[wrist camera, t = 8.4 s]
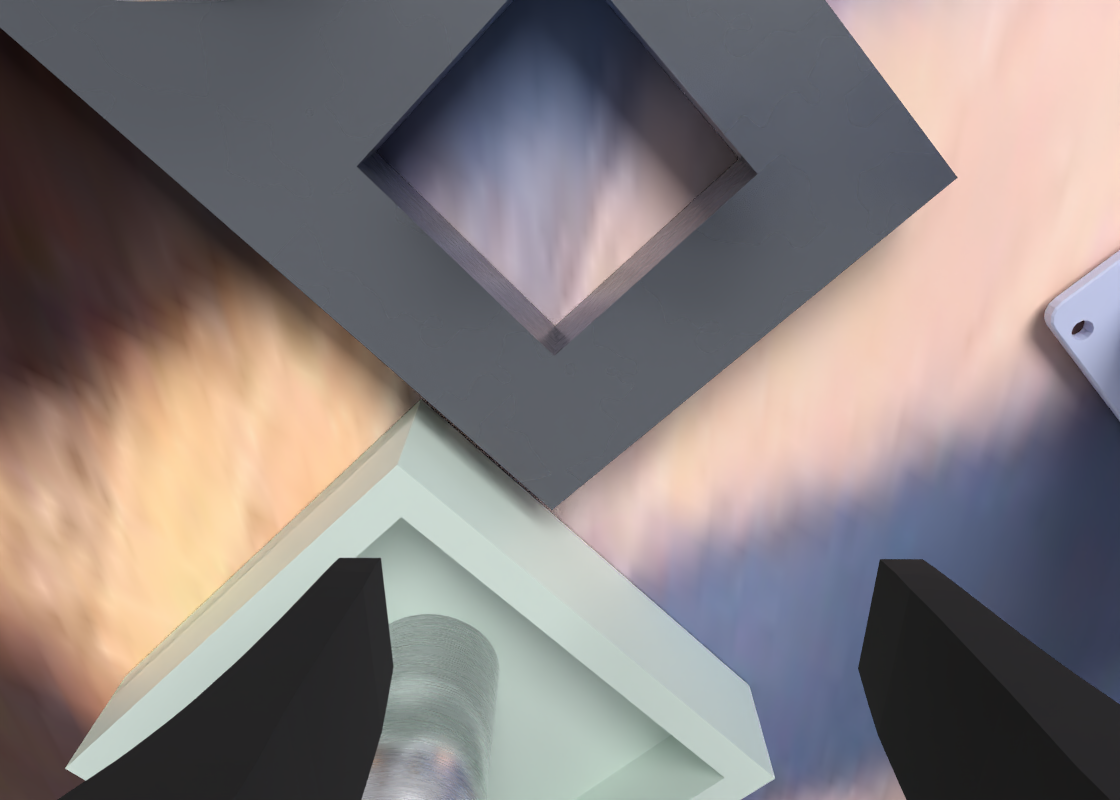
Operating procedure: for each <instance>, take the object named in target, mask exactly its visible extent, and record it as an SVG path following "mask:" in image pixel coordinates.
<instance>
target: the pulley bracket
mask: <svg viewBox="0 0 1120 800" xmlns="http://www.w3.org/2000/svg"><path fill="white" fill-rule="evenodd" d="M513 1H514V0H0V28H1V29H3V30H4V31H5V32H6V33H7V34H8V35H9V36H11V37H12V38H13V39H14V40H15V41H16V42H17V43H19V44H20V45H21V46H22V47H23V48H24V49H25V50H27V51H28V52H29V53H30V54H31V55H32V56H33V57H35V58H36V59H37V60H38V61H39V62H40V63H41V64H43V65H44V66H45V67H46V68H47V69H48V70H49V71H51V72H52V73H53V74H54V75H55V76H56V77H57V78H59V79H60V80H61V81H62V82H63V83H64V84H65V85H67V86H68V87H69V88H70V89H71V90H72V91H73V92H75V93H76V94H77V95H78V96H79V97H80V98H81V99H83V100H84V101H85V102H86V103H87V104H88V105H89V106H91V107H92V108H93V109H94V110H95V111H96V112H97V113H99V114H100V115H101V116H102V117H103V118H104V119H105V120H107V121H108V122H109V123H110V124H111V125H112V126H113V127H115V128H116V129H117V130H118V131H119V132H120V133H121V134H123V135H124V136H125V137H126V138H127V139H128V140H129V141H131V142H132V143H133V144H134V145H135V146H136V147H137V148H139V149H140V150H141V151H142V152H143V153H144V154H145V155H147V156H148V157H149V158H150V159H151V160H152V161H154V162H155V163H156V164H157V165H158V166H159V167H160V168H162V169H163V170H164V171H165V172H166V173H167V174H168V175H170V176H171V177H172V178H173V179H174V180H175V181H176V182H178V183H179V184H180V185H181V186H182V187H183V188H184V189H186V190H187V191H188V192H189V193H190V194H191V195H192V196H194V197H195V198H196V199H197V200H198V201H199V202H200V203H202V204H203V205H204V206H205V207H206V208H207V209H208V210H210V211H211V212H212V213H213V214H214V215H215V216H216V217H218V218H219V219H220V220H221V221H222V222H223V223H224V224H226V225H227V226H228V227H229V228H230V229H231V230H232V231H234V232H235V233H236V234H237V235H238V236H239V237H240V238H242V239H243V240H244V241H245V242H246V243H247V244H248V245H250V246H251V247H252V248H253V249H254V250H255V251H256V252H258V253H259V254H260V255H261V256H262V257H263V258H264V259H266V260H267V261H268V262H269V263H270V264H271V265H272V266H274V267H275V268H276V269H277V270H278V271H279V272H280V273H282V274H283V275H284V276H285V277H286V278H287V279H288V280H290V281H291V282H292V283H293V284H294V285H295V286H296V287H298V288H299V289H300V290H301V291H302V292H303V293H304V294H306V295H307V296H308V297H309V298H310V299H311V300H312V301H314V302H315V303H316V304H317V305H318V306H319V307H320V308H322V309H323V310H324V311H325V312H326V313H327V314H328V315H330V316H331V317H332V318H333V319H334V320H335V321H336V322H338V323H339V324H340V325H341V326H342V327H343V328H344V329H346V330H347V331H348V332H349V333H350V334H351V335H352V336H354V337H355V338H356V339H357V340H358V341H359V342H360V343H362V344H363V345H364V346H365V347H366V348H367V349H368V350H370V351H371V352H372V353H373V354H374V355H375V356H376V357H378V358H379V359H380V360H381V361H382V362H383V363H384V364H386V365H387V366H388V367H389V368H390V369H391V370H392V371H394V372H395V373H396V374H397V375H398V376H399V377H400V378H402V379H403V380H404V381H405V382H406V383H407V384H408V385H410V386H411V387H412V388H413V389H414V390H415V391H416V392H418V393H419V394H420V395H421V396H422V397H423V398H424V399H426V400H427V401H428V402H429V403H430V404H431V405H432V406H434V407H435V408H436V409H437V410H438V411H439V412H440V413H442V414H443V415H444V416H445V417H446V418H447V419H448V420H450V421H451V422H452V423H453V424H454V425H455V426H456V427H458V428H459V429H460V430H461V431H462V432H463V433H464V434H466V435H467V436H468V437H469V438H470V439H471V440H472V441H474V442H475V443H476V444H477V445H478V446H479V447H480V448H482V449H483V450H484V451H485V452H486V453H487V454H488V455H490V456H491V457H492V458H493V459H494V460H495V461H496V462H498V463H499V464H500V465H501V466H502V467H503V468H504V469H506V470H507V471H508V472H509V473H510V474H511V475H512V476H514V477H515V478H516V479H517V480H518V481H519V482H520V483H522V484H523V485H524V486H525V487H526V488H527V489H529V490H530V491H531V492H532V493H533V494H534V495H535V496H537V497H538V498H539V499H540V500H541V501H542V502H543V503H545V504H546V505H547V506H548V507H549V508H550V509H551V510H553V509H554V508H555V507H556V506H557V505H559V504H560V503H561V502H562V501H564V500H565V499H566V498H567V497H568V496H570V495H571V494H572V493H573V492H575V491H576V490H577V489H578V488H579V487H581V486H582V485H583V484H584V483H585V482H587V481H588V480H589V479H590V478H592V477H593V476H594V475H595V474H596V473H598V472H599V471H600V470H601V469H603V468H604V467H605V466H606V465H607V464H609V463H610V462H611V461H612V460H614V459H615V458H616V457H617V456H618V455H620V454H621V453H622V452H623V451H625V450H626V449H627V448H628V447H629V446H631V445H632V444H633V443H634V442H636V441H637V440H638V439H639V438H640V437H642V436H643V435H644V434H645V433H646V432H648V431H649V430H650V429H651V428H653V427H654V426H655V425H656V424H657V423H659V422H660V421H661V420H662V419H664V418H665V417H666V416H667V415H668V414H670V413H671V412H672V411H673V410H675V409H676V408H677V407H678V406H679V405H681V404H682V403H683V402H684V401H686V400H687V399H688V398H689V397H690V396H692V395H693V394H694V393H695V392H696V391H698V390H699V389H700V388H701V387H703V386H704V385H705V384H706V383H707V382H709V381H710V380H711V379H712V378H714V377H715V376H716V375H717V374H718V373H720V372H721V371H722V370H723V369H725V368H726V367H727V366H728V365H729V364H731V363H732V362H733V361H734V360H736V359H737V358H738V357H739V356H740V355H742V354H743V353H744V352H745V351H746V350H748V349H749V348H750V347H751V346H753V345H754V344H755V343H756V342H757V341H759V340H760V339H761V338H762V337H764V336H765V335H766V334H767V333H768V332H770V331H771V330H772V329H773V328H775V327H776V326H777V325H778V324H779V323H781V322H782V321H783V320H784V319H786V318H787V317H788V316H789V315H790V314H792V313H793V312H794V311H795V310H797V309H798V308H799V307H800V306H801V305H803V304H804V303H805V302H806V301H807V300H809V299H810V298H811V297H812V296H814V295H815V294H816V293H817V292H818V291H820V290H821V289H822V288H823V287H825V286H826V285H827V284H828V283H829V282H831V281H832V280H833V279H834V278H836V277H837V276H838V275H839V274H840V273H842V272H843V271H844V270H845V269H847V268H848V267H849V266H850V265H851V264H853V263H854V262H855V261H856V260H857V259H859V258H860V257H861V256H862V255H864V254H865V253H866V252H867V251H868V250H870V249H871V248H872V247H873V246H875V245H876V244H877V243H878V242H879V241H881V240H882V239H883V238H884V237H886V236H887V235H888V234H889V233H890V232H892V231H893V230H894V229H895V228H897V227H898V226H899V225H900V224H901V223H903V222H904V221H905V220H906V219H907V218H909V217H910V216H911V215H912V214H914V213H915V212H916V211H917V210H918V209H920V208H921V207H922V206H923V205H925V204H926V203H927V202H928V201H929V200H931V199H932V198H933V197H934V196H936V195H937V194H938V193H939V192H940V191H942V190H943V189H944V188H945V187H947V186H948V185H949V184H950V183H951V182H953V181H954V180H955V179H956V178H957V176H956V175H955V174H954V172H953V171H952V170H951V168H950V167H949V166H948V164H947V163H946V162H945V160H944V159H943V158H942V156H941V155H940V154H939V152H938V151H937V150H936V148H935V147H934V146H933V144H932V143H931V142H930V140H929V139H928V137H927V136H926V135H925V133H924V132H923V131H922V129H921V128H920V127H919V125H918V124H917V123H916V121H915V120H914V119H913V117H912V116H911V115H910V113H909V112H908V111H907V109H906V108H905V107H904V105H903V104H902V103H901V101H900V100H899V99H898V97H897V96H896V95H895V93H894V92H893V91H892V89H891V88H890V87H889V85H888V84H887V82H886V81H885V80H884V78H883V77H882V76H881V74H880V73H879V72H878V70H877V69H876V68H875V66H874V65H873V64H872V62H871V61H870V60H869V58H868V57H867V56H866V54H865V53H864V52H863V50H862V49H861V48H860V46H859V45H858V44H857V42H856V41H855V40H854V38H853V37H852V36H851V34H850V33H849V32H848V30H847V29H846V28H845V26H844V25H843V23H842V22H841V21H840V19H839V18H838V17H837V15H836V14H835V13H834V11H833V10H832V9H831V7H830V6H829V5H828V3H827V2H826V1H825V0H605V1H606V2H607V3H608V4H609V5H610V7H611V8H612V9H613V10H614V11H615V13H616V14H617V15H618V16H619V17H620V18H621V20H622V21H623V22H624V23H625V24H626V25H627V27H628V28H629V29H630V30H631V31H632V33H633V34H634V35H635V36H636V37H637V38H638V40H639V41H640V42H641V43H642V44H643V46H644V47H645V48H646V49H647V50H648V51H649V53H650V54H651V55H652V56H653V57H654V59H655V60H656V61H657V62H658V63H659V64H660V66H661V67H662V68H663V69H664V70H665V71H666V73H667V74H668V75H669V76H670V77H671V79H672V80H673V81H674V82H675V83H676V84H677V86H678V87H679V88H680V89H681V90H682V92H683V93H684V94H685V95H686V96H687V97H688V99H689V100H690V101H691V102H692V103H693V105H694V106H695V107H696V108H697V109H698V110H699V112H700V113H701V114H702V115H703V116H704V117H705V119H706V120H707V121H708V122H709V123H710V125H711V126H712V127H713V128H714V129H715V130H716V132H717V133H718V134H719V135H720V136H721V138H722V139H723V140H724V141H725V142H726V143H727V145H728V146H729V147H730V148H731V149H732V151H733V152H734V153H735V154H736V155H737V156H738V158H739V159H738V160H737V161H736V162H735V163H734V164H733V165H732V166H731V167H729V168H728V169H727V170H726V171H725V172H724V173H723V174H722V175H721V176H720V177H718V178H717V179H716V180H715V181H714V182H713V183H712V184H711V185H710V186H709V187H707V188H706V189H705V190H704V191H703V192H702V193H701V194H700V195H699V196H698V197H697V198H695V199H694V200H693V201H692V202H691V203H690V204H689V205H688V206H687V207H686V208H684V209H683V210H682V211H681V212H680V213H679V214H678V215H677V216H676V217H675V218H673V219H672V220H671V221H670V222H669V223H668V224H667V225H666V226H665V227H664V228H662V229H661V230H660V231H659V232H658V233H657V234H656V235H655V236H654V237H653V238H651V239H650V240H649V241H648V242H647V243H646V244H645V245H644V246H643V247H642V248H641V249H639V250H638V251H637V252H636V253H635V254H634V255H633V256H632V257H631V258H630V259H628V260H627V261H626V262H625V263H624V264H623V265H622V266H621V267H620V268H619V269H617V270H616V271H615V272H614V273H613V274H612V275H611V276H610V277H609V278H608V279H606V280H605V281H604V282H603V283H602V284H601V285H600V286H599V287H598V288H597V289H596V290H594V291H593V292H592V293H591V294H590V295H589V296H588V297H587V298H586V299H585V300H583V301H582V302H581V303H580V304H579V305H578V306H577V307H576V308H575V309H574V310H572V311H571V312H570V313H569V314H568V315H567V316H566V317H565V318H564V319H563V320H561V321H560V322H559V323H558V324H557V325H556V326H554V325H553V324H552V323H551V322H550V321H549V320H548V319H547V318H546V317H545V316H544V315H543V314H542V313H541V312H540V311H539V310H538V309H537V308H536V307H535V306H534V305H533V304H532V303H530V302H529V301H528V300H527V299H526V298H525V297H524V296H523V295H522V294H521V293H520V292H519V291H518V290H517V289H516V288H515V287H514V286H513V285H512V284H511V283H510V282H509V281H508V280H507V279H506V278H505V277H504V276H503V275H502V274H501V273H500V272H499V271H498V270H497V269H496V268H495V267H494V266H493V265H491V264H490V263H489V262H488V261H487V260H486V259H485V258H484V257H483V256H482V255H481V254H480V253H479V252H478V251H477V250H476V249H475V248H474V247H473V246H472V245H471V244H470V243H469V242H468V241H467V240H466V239H465V238H464V237H463V236H462V235H461V234H460V233H459V232H458V231H457V230H456V229H455V228H453V227H452V226H451V225H450V224H449V223H448V222H447V221H446V220H445V219H444V218H443V217H442V216H441V215H440V214H439V213H438V212H437V211H436V210H435V209H434V208H433V207H432V206H431V205H430V204H429V203H428V202H427V201H426V200H425V199H424V198H423V197H422V196H421V195H420V194H419V193H418V192H417V191H416V190H414V189H413V188H412V187H411V186H410V185H409V184H408V183H407V182H406V181H405V180H404V179H403V178H402V177H401V176H400V175H399V174H398V173H397V172H396V171H395V170H394V169H393V168H392V167H391V166H390V165H389V164H388V163H387V162H386V161H385V160H384V159H383V158H382V157H381V156H380V155H379V154H378V153H376V151H377V150H378V149H379V148H380V147H381V146H382V144H383V143H384V142H385V141H386V140H387V139H388V138H389V137H390V136H391V135H392V133H393V132H394V131H395V130H396V129H397V128H398V127H399V126H400V125H401V124H402V122H403V121H404V120H405V119H406V118H407V117H408V116H409V115H410V114H411V113H412V111H413V110H414V109H415V108H416V107H417V106H418V105H419V104H420V103H421V102H422V100H423V99H424V98H425V97H426V96H427V95H428V94H429V93H430V92H431V91H432V90H433V88H434V87H435V86H436V85H437V84H438V83H439V82H440V81H441V80H442V79H443V77H444V76H445V75H446V74H447V73H448V72H449V71H450V70H451V69H452V68H453V66H454V65H455V64H456V63H457V62H458V61H459V60H460V59H461V58H462V57H463V55H464V54H465V53H466V52H467V51H468V50H469V49H470V48H471V47H472V46H473V44H474V43H475V42H476V41H477V40H478V39H479V38H480V37H481V36H482V35H483V33H484V32H485V31H486V30H487V29H488V28H489V27H490V26H491V25H492V24H493V23H494V21H495V20H496V19H497V18H498V17H499V16H500V15H501V14H502V13H503V12H504V10H505V9H506V8H507V7H508V6H509V5H510V4H511V3H512V2H513Z"/></svg>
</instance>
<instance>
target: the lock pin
mask: <svg viewBox="0 0 1120 800" xmlns="http://www.w3.org/2000/svg"><path fill="white" fill-rule="evenodd" d="M389 632H390V640H391V649H392V658H393V666H394V667H393V673H392V679H391V685H390V690H389V696H388V702H387V707H386V713H385V718H384V723H383V729H382V733H381V737H380V740H379V744H378V747H377V750H376V754H375V757H374V760H373V763H372V767H371V770H370V773H369V777H368V780H367V783H366V786H365V790H364V793H363V796H362V799H361V800H487V791H488V781H489V771H490V761H491V751H492V741H493V731H494V721H495V711H496V700H497V690H498V680H499V661H498V657H497V654H496V652H495V649H494V648H493V646H492V645H491V643H490V642H489V640H488V639H487V638H486V637H485V636H484V635H483V634H482V633H481V632H480V631H478V630H477V629H475V628H474V627H473V626H471V625H469V624H467V623H465V622H463V621H461V620H458V619H455V618H452V617H449V616H443V615H437V614H419V615H412V616H408V617H404V618H401V619H398V620H396V621H394V622H392V623H390V624H389Z"/></svg>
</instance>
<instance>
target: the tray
mask: <svg viewBox="0 0 1120 800" xmlns="http://www.w3.org/2000/svg"><path fill="white" fill-rule="evenodd" d="M338 558H381V563H382V571H383V580H384V589H385V597H386V606H387V614H388V623H389V624H390V623H392V622H394V621H396V620H398V619H401V618H404V617H408V616H412V615H419V614H437V615H443V616H449V617H452V618H455V619H458V620H461V621H463V622H465V623H467V624H469V625H471V626H473V627H474V628H475V629H477V630H478V631H480V632H481V633H482V634H483V635H484V636H485V637H486V638H487V639H488V640H489V642H490V643H491V645H492V646H493V648H494V649H495V652H496V654H497V657H498V661H499V680H498V690H497V700H496V711H495V721H494V731H493V741H492V751H491V761H490V771H489V781H488V791H487V800H741V799H743V798H744V797H746V796H747V795H749V794H751V793H752V792H754V791H756V790H757V789H759V788H760V787H762V786H764V785H765V784H767V783H769V782H770V781H772V780H773V779H775V776H774V773H773V769H772V766H771V762H770V758H769V755H768V751H767V748H766V744H765V740H764V737H763V733H762V730H761V726H760V722H759V719H758V715H757V712H756V708H755V704H754V701H753V697H752V693H751V690H750V686H749V685H748V684H747V683H746V682H744V681H743V680H742V679H741V678H740V677H739V676H738V675H736V674H735V673H734V672H733V671H732V670H731V669H730V668H728V667H727V666H726V665H725V664H724V663H723V662H722V661H720V660H719V659H718V658H717V657H716V656H715V655H714V654H712V653H711V652H710V651H709V650H708V649H707V648H705V647H704V646H703V645H702V644H701V643H700V642H699V641H697V640H696V639H695V638H694V637H693V636H692V635H691V634H689V633H688V632H687V631H686V630H685V629H684V628H683V627H681V626H680V625H679V624H678V623H677V622H676V621H675V620H673V619H672V618H671V617H670V616H669V615H668V614H667V613H665V612H664V611H663V610H662V609H661V608H660V607H659V606H657V605H656V604H655V603H654V602H653V601H652V600H650V599H649V598H648V597H647V596H646V595H645V594H644V593H642V592H641V591H640V590H639V589H638V588H637V587H636V586H634V585H633V584H632V583H631V582H630V581H629V580H628V579H626V578H625V577H624V576H623V575H622V574H621V573H620V572H618V571H617V570H616V569H615V568H614V567H613V566H612V565H610V564H609V563H608V562H607V561H606V560H605V559H604V558H602V557H601V556H600V555H599V554H598V553H597V552H595V551H594V550H593V549H592V548H591V547H590V546H589V545H587V544H586V543H585V542H584V541H583V540H582V539H581V538H579V537H578V536H577V535H576V534H575V533H574V532H573V531H571V530H570V529H569V528H568V527H567V526H566V525H565V524H563V523H562V522H561V521H560V520H559V519H558V518H557V517H555V516H554V515H553V514H552V513H551V512H550V511H549V510H547V509H546V508H545V507H544V506H543V505H542V504H540V503H539V502H538V501H537V500H536V499H535V498H534V497H532V496H531V495H530V494H529V493H528V492H527V491H526V490H524V489H523V488H522V487H521V486H520V485H519V484H518V483H516V482H515V481H514V480H513V479H512V478H511V477H510V476H508V475H507V474H506V473H505V472H504V471H503V470H502V469H500V468H499V467H498V466H497V465H496V464H495V463H494V462H492V461H491V460H490V459H489V458H488V457H487V456H486V455H484V454H483V453H482V452H481V451H480V450H479V449H477V448H476V447H475V446H474V445H473V444H472V443H471V442H469V441H468V440H467V439H466V438H465V437H464V436H463V435H461V434H460V433H459V432H458V431H457V430H456V429H455V428H453V427H452V426H451V425H450V424H449V423H448V422H447V421H445V420H444V419H443V418H442V417H441V416H440V415H439V414H437V413H436V412H435V411H434V410H433V409H432V408H431V407H429V406H428V405H427V404H426V403H425V402H424V401H422V400H420V401H419V402H417V403H416V404H415V405H414V406H413V407H412V408H411V409H410V410H409V411H408V412H407V413H406V414H405V415H404V416H403V417H401V418H400V419H399V420H398V421H397V422H396V423H395V424H394V425H393V426H392V427H391V428H390V429H389V430H388V431H387V432H385V433H384V434H383V435H382V436H381V437H380V438H379V439H378V440H377V441H376V442H375V443H374V444H373V445H372V446H371V447H369V448H368V449H367V450H366V451H365V452H364V453H363V454H362V455H361V456H360V457H359V458H358V459H357V460H356V461H355V462H353V463H352V464H351V465H350V466H349V467H348V468H347V469H346V470H345V471H344V472H343V473H342V474H341V475H340V476H339V477H337V478H336V479H335V480H334V481H333V482H332V483H331V484H330V485H329V486H328V487H327V488H326V489H325V490H324V491H323V492H321V493H320V494H319V495H318V496H317V497H316V498H315V499H314V500H313V501H312V502H311V503H310V504H309V505H308V506H307V507H305V508H304V509H303V510H302V511H301V512H300V513H299V514H298V515H297V516H296V517H295V518H294V519H293V520H292V521H291V522H289V523H288V524H287V525H286V526H285V527H284V528H283V529H282V530H281V531H280V532H279V533H278V534H277V535H276V536H275V537H273V538H272V539H271V540H270V541H269V542H268V543H267V544H266V545H265V546H264V547H263V548H262V549H261V550H260V551H259V552H257V553H256V554H255V555H254V556H253V557H252V558H251V559H250V560H249V561H248V562H247V563H246V564H245V565H244V566H243V567H241V568H240V569H239V570H238V571H237V572H236V573H235V574H234V575H233V576H232V577H231V578H230V579H229V580H228V581H227V582H225V583H224V584H223V585H222V586H221V587H220V588H219V589H218V590H217V591H216V592H215V593H214V594H213V595H212V596H211V597H210V598H208V599H207V600H206V601H205V602H204V603H203V604H202V605H201V606H200V607H199V608H198V609H197V610H196V611H195V612H194V613H192V614H191V615H190V616H189V617H188V618H187V619H186V620H185V621H184V622H183V623H182V624H181V625H180V626H179V627H178V628H176V629H175V630H174V631H173V632H172V633H171V634H170V635H169V636H168V637H167V638H166V639H165V640H164V641H163V642H162V643H160V644H159V645H158V646H157V647H156V648H155V649H154V650H153V651H152V652H151V653H150V654H149V655H148V656H147V657H146V658H144V659H143V660H142V661H141V662H140V663H139V664H138V665H137V666H136V667H135V668H134V669H133V670H132V671H131V672H130V673H128V674H127V675H126V676H125V678H124V679H123V681H122V682H121V684H120V685H119V687H118V688H117V690H116V691H115V693H114V694H113V696H112V697H111V699H110V701H109V702H108V704H107V705H106V707H105V708H104V710H103V711H102V713H101V714H100V716H99V717H98V719H97V720H96V722H95V723H94V725H93V726H92V728H91V730H90V731H89V733H88V734H87V736H86V737H85V739H84V740H83V742H82V743H81V745H80V746H79V748H78V749H77V751H76V752H75V754H74V756H73V757H72V759H71V760H70V762H69V763H68V765H67V766H66V768H65V769H67V770H69V771H70V772H72V773H74V774H75V775H77V776H79V777H81V778H82V779H84V780H88V779H89V778H91V777H92V776H94V775H95V774H97V773H98V772H100V771H101V770H103V769H104V768H106V767H107V766H108V765H110V764H111V763H113V762H114V761H116V760H117V759H119V758H120V757H121V756H123V755H124V754H126V753H127V752H128V751H130V750H131V749H132V748H134V747H135V746H136V745H138V744H139V743H140V742H142V741H143V740H144V739H146V738H147V737H148V736H150V735H151V734H152V733H153V732H155V731H156V730H157V729H159V728H160V727H161V726H163V725H164V724H165V723H167V722H168V721H169V720H170V719H171V718H173V717H174V716H175V715H176V714H178V713H179V712H180V711H181V710H183V709H184V708H185V707H186V706H187V705H189V704H190V703H191V702H192V701H193V700H194V699H196V698H197V697H198V696H199V695H200V694H201V693H202V692H203V691H204V690H206V689H207V688H208V687H209V686H210V685H211V684H212V683H213V682H214V681H215V680H217V679H218V678H219V677H220V676H221V675H222V674H223V673H224V672H225V671H227V670H228V669H229V668H230V667H231V666H232V665H233V664H234V663H235V662H237V661H238V660H239V659H240V658H241V657H242V656H243V655H244V654H245V653H246V652H247V651H248V650H249V649H250V648H251V647H252V646H253V645H254V644H255V643H256V642H257V641H258V640H259V639H260V638H261V637H262V636H263V635H264V634H265V633H266V632H267V631H268V630H269V629H270V628H271V627H272V626H273V625H274V624H275V623H276V622H277V621H278V620H279V619H280V618H281V617H282V616H283V615H284V614H285V613H286V612H287V611H288V610H289V609H290V608H291V607H292V606H293V605H294V604H295V603H296V602H297V601H298V600H299V599H300V597H301V596H302V595H303V594H304V593H305V592H306V591H307V590H308V589H309V588H310V587H311V586H312V585H313V584H314V583H315V582H316V581H317V580H318V578H319V577H320V576H321V575H322V574H323V573H324V572H325V571H326V570H327V569H328V568H329V567H330V566H331V565H332V564H333V563H334V562H335V561H336V560H337V559H338Z"/></svg>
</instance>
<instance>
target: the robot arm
mask: <svg viewBox="0 0 1120 800" xmlns="http://www.w3.org/2000/svg"><path fill="white" fill-rule="evenodd" d="M1044 320H1045V322H1046V324H1047V326H1048V327H1049V329H1050V330H1051V331H1052V333H1053V334H1054V335H1055V337H1056V338H1057V339H1058V341H1059V342H1060V343H1061V345H1062V346H1063V347H1064V349H1065V350H1066V351H1067V352H1068V354H1069V355H1070V356H1071V358H1072V359H1073V360H1074V362H1075V363H1076V364H1077V366H1078V367H1079V368H1080V370H1081V371H1082V372H1083V374H1084V375H1085V376H1086V378H1087V379H1088V380H1089V382H1090V383H1091V384H1092V386H1093V387H1094V388H1095V389H1096V391H1097V392H1098V393H1099V395H1100V396H1101V397H1102V399H1103V400H1104V401H1105V403H1106V404H1107V405H1108V407H1109V408H1110V409H1111V411H1112V412H1113V413H1114V415H1115V416H1116V417H1117V419H1118V420H1119V421H1120V250H1119V251H1118V252H1116V253H1115V254H1114V255H1112V256H1111V257H1110V258H1108V259H1107V260H1106V261H1104V262H1103V263H1101V264H1100V265H1099V266H1097V267H1096V268H1095V269H1093V270H1092V271H1091V272H1089V273H1088V274H1087V275H1085V276H1084V277H1083V278H1081V279H1080V280H1078V281H1077V282H1076V283H1074V284H1073V285H1072V286H1070V287H1069V288H1068V289H1066V290H1065V291H1064V292H1062V293H1061V294H1060V295H1058V296H1057V297H1055V298H1054V299H1053V300H1052V301H1051V302H1050V303H1049V304H1048V306H1047V308H1046V310H1045V315H1044ZM1083 320H1084V322H1085V323H1084V327H1083V328H1082V329H1081V331H1080V332H1078V333H1076V334H1074V335H1072V329H1073V327H1074V326H1075V325H1076V324H1077V323H1079V322H1081V321H1083ZM393 667H394V666H393V658H392V649H391V640H390V632H389V623H388V614H387V606H386V597H385V589H384V580H383V571H382V563H381V558H338V559H337V560H336V561H335V562H334V563H333V564H332V565H331V566H330V567H329V568H328V569H327V570H326V571H325V572H324V573H323V574H322V575H321V576H320V577H319V578H318V580H317V581H316V582H315V583H314V584H313V585H312V586H311V587H310V588H309V589H308V590H307V591H306V592H305V593H304V594H303V595H302V596H301V597H300V599H299V600H298V601H297V602H296V603H295V604H294V605H293V606H292V607H291V608H290V609H289V610H288V611H287V612H286V613H285V614H284V615H283V616H282V617H281V618H280V619H279V620H278V621H277V622H276V623H275V624H274V625H273V626H272V627H271V628H270V629H269V630H268V631H267V632H266V633H265V634H264V635H263V636H262V637H261V638H260V639H259V640H258V641H257V642H256V643H255V644H254V645H253V646H252V647H251V648H250V649H249V650H248V651H247V652H246V653H245V654H244V655H243V656H242V657H241V658H240V659H239V660H238V661H237V662H235V663H234V664H233V665H232V666H231V667H230V668H229V669H228V670H227V671H225V672H224V673H223V674H222V675H221V676H220V677H219V678H218V679H217V680H215V681H214V682H213V683H212V684H211V685H210V686H209V687H208V688H207V689H206V690H204V691H203V692H202V693H201V694H200V695H199V696H198V697H197V698H196V699H194V700H193V701H192V702H191V703H190V704H189V705H187V706H186V707H185V708H184V709H183V710H181V711H180V712H179V713H178V714H176V715H175V716H174V717H173V718H171V719H170V720H169V721H168V722H167V723H165V724H164V725H163V726H161V727H160V728H159V729H157V730H156V731H155V732H153V733H152V734H151V735H150V736H148V737H147V738H146V739H144V740H143V741H142V742H140V743H139V744H138V745H136V746H135V747H134V748H132V749H131V750H130V751H128V752H127V753H126V754H124V755H123V756H121V757H120V758H119V759H117V760H116V761H114V762H113V763H111V764H110V765H108V766H107V767H106V768H104V769H103V770H101V771H100V772H98V773H97V774H95V775H94V776H92V777H91V778H89V779H88V780H86V781H85V782H83V783H82V784H80V785H79V786H77V787H76V788H74V789H73V790H71V791H70V792H68V793H67V794H65V795H64V796H62V797H61V798H59V799H58V800H361V799H362V796H363V793H364V790H365V786H366V783H367V780H368V777H369V773H370V770H371V767H372V763H373V760H374V757H375V754H376V750H377V747H378V744H379V740H380V737H381V733H382V729H383V723H384V718H385V713H386V707H387V702H388V696H389V690H390V685H391V679H392V673H393ZM858 669H859V673H860V677H861V680H862V684H863V687H864V691H865V694H866V698H867V701H868V705H869V708H870V711H871V714H872V717H873V720H874V724H875V727H876V730H877V733H878V736H879V738H880V741H881V743H882V745H883V748H884V750H885V752H886V755H887V757H888V759H889V761H890V764H891V766H892V768H893V770H894V773H895V775H896V777H897V779H898V782H899V784H900V786H901V789H902V791H903V793H904V795H905V797H906V800H1120V704H1118V703H1117V702H1115V701H1114V700H1112V699H1111V698H1110V697H1108V696H1107V695H1105V694H1104V693H1102V692H1101V691H1099V690H1098V689H1096V688H1095V687H1093V686H1092V685H1090V684H1089V683H1088V682H1086V681H1085V680H1083V679H1082V678H1080V677H1079V676H1077V675H1076V674H1075V673H1073V672H1072V671H1070V670H1069V669H1068V668H1066V667H1065V666H1063V665H1062V664H1061V663H1059V662H1058V661H1056V660H1055V659H1054V658H1052V657H1051V656H1050V655H1048V654H1047V653H1046V652H1044V651H1043V650H1041V649H1040V648H1039V647H1037V646H1036V645H1035V644H1033V643H1032V642H1031V641H1029V640H1028V639H1027V638H1025V637H1024V636H1023V635H1021V634H1020V633H1019V632H1018V631H1016V630H1015V629H1014V628H1012V627H1011V626H1010V625H1008V624H1007V623H1006V622H1004V621H1003V620H1002V619H1001V618H999V617H998V616H997V615H995V614H994V613H993V612H992V611H990V610H989V609H988V608H986V607H985V606H984V605H983V604H981V603H980V602H979V601H977V600H976V599H975V598H974V597H972V596H971V595H970V594H968V593H967V592H966V591H965V590H963V589H962V588H961V587H959V586H958V585H957V584H955V583H954V582H953V581H952V580H950V579H949V578H948V577H946V576H945V575H944V574H942V573H941V572H940V571H938V570H937V569H936V568H934V567H933V566H931V565H930V564H928V563H927V562H926V561H924V560H923V559H880V562H879V567H878V572H877V577H876V582H875V587H874V592H873V597H872V602H871V607H870V612H869V617H868V622H867V627H866V632H865V637H864V642H863V647H862V652H861V657H860V662H859V667H858Z"/></svg>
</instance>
